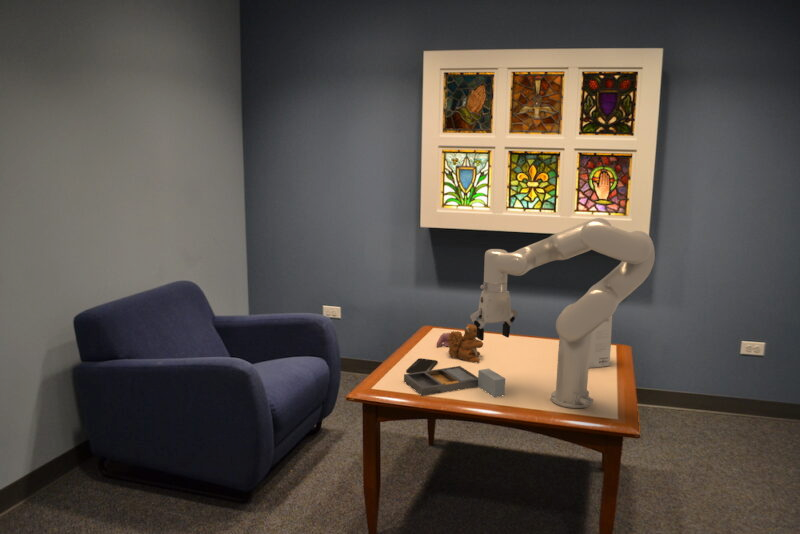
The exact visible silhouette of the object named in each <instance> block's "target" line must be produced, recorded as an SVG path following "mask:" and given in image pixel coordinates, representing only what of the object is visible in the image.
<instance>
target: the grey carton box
mask: <svg viewBox="0 0 800 534" xmlns="http://www.w3.org/2000/svg"><path fill="white" fill-rule="evenodd" d="M613 318H614V314H613V315H612V316H611V317H610V318H608V319H607V320H606V321H605V322H604V323H602V324H601V325H600V326H599V327H597V328H596V329H595V330H594V331H592V335H591V344H590V356H589V369H593V368H603V367H604V368H605V367H610V365H611V351H612V350H611V347H612V335H613V333H612V331H613Z"/></svg>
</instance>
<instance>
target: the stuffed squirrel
mask: <svg viewBox="0 0 800 534" xmlns="http://www.w3.org/2000/svg"><path fill="white" fill-rule="evenodd" d="M449 333H450V334H449V337H448V341H449V346H448V348H449V349H448V354H449V355H450V357H452V359H453V358H454V359H460V360H463V361H465V362H468V363H474V362H477V363H480V358H479V356H481V352H480V351H478V349H481V348H482V347H483V346H484V342H483V340H482V341H481V340H479V339H477V327H476V326H475V325H474V324H473V323H472V324H470V323H467V324H466V327H465V328H464V334H462V332H461V331H457V330H456V331H454V330H453V331H451V332H449ZM477 363H476V364H477Z"/></svg>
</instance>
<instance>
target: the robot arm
mask: <svg viewBox="0 0 800 534" xmlns="http://www.w3.org/2000/svg"><path fill="white" fill-rule="evenodd" d="M591 250H592V251H594V252H596V253H599V254H602V255H604V256H607V257H609V258H613V259H615V260H618V261H620V263H619V264H618V265H617V266H615V267H614V268H613V269H612V270H611V271H610V272H609V273H608V274H606V275H605V276H604V277H603V278H601V280H599V281H597V282H596V283H595V284H593V285H592V286H591V287H590V288H588V291H586V292H585V294H584V295H583V296H582V297H580V298H579V299H578V300H577V301H576V302H574V303H571V304H568V305H567V306H566V307H564V308H563V310H561V312H560V314H559V316H558V317H557V319H556V322H555V330H556V333H557V336H558V337H559V338H558V339H559V340H558V352H557V365H556V366H557V367H556V368H557V369H556V382H555V391H553V392H551V393H550V400H551V402H552V403H554V404H556V406H557V405H558V406H561V407H564V408H569V409H583V408H587V407H590V406H591V405H592V404H593V402H594V398H592V397H591V396H590V391H588V384H589V382H588V381H589V370H590V368H589V356H590V344H591V335H592V331H594V330H595V329H596V328H597V327H599V326H600V325H601V324H602V323H604V322H605V321H606V320H607V319H608V318H610V317H611V316H612V315H613V316H614V313H615V312H616V310H617V308H618V306H619V304H621V302H622V301H624V300H625V299H626V298H627V297H629V295H631V294H632V293H633V292H634V291H635V290H637V288H638V287H639V286H641V285H642V284H643V283H644V281H645V280H647V278H648V277H649V276H650V274H651V271H652V269H653V267H654V264H655V260H656V259H655V257H656V256H655V255H656V252H655V245H654V241H653V240H652V238H651V236H650V235H649V234H648V233H646V232H644V231H642V230H633V231H627V230H624V229H621V228H618V227H615V226H613V225H612V224H611V222H609V221H608V220H607V219H605V218H603V217H595V218H593V219H590V220H587V221H583V223H580V224H577V225H575V226H572V227H569V228H567V229H565V230H562V231H559V232H556V233H555V234H552V235H550V236H549V237H547V238H544V239H542V240H539V241H536V242H534V243H532V244H529V245H526V246H524V247H521V248H519V249H517V250H515V251H513V252H508V251H507V250H505V249H501V248H490V249H488V250H486V251H485V253H484V263H483V264H484V266H483V268H484V269H483V271H484V272H483V284H481V285H480V287H479V288H480V289H481V290H482V291H481V293H480V297H479V301H478V302H479V303H478V310H476V311H475V312H473V313H471V314H470V315H469V317H470V320H471V322H472V325H475V326H476V327H477V337H476V339H477V340H480V341H482V342H483V341H484V338H485V335H484V334H485V328H484V327H485V325H486V324H495V323H503V324H502V334H501V335H502V336H503V337H505V338H510V333H511V326H512V324H513V322H514V321H515V319H516V317H517V315H518V311H517V310H515V309H513V308H512V304H511V296H510V295H511V294H510V291H508V275H511V276H515V277H516V276H517V277H518V276H519V277H520V276H523V275H525V274H526V273H528V272H529V271H530V270H532V269H534V268H537V267H539V266H542V265H545V264H547V263H550V262H554V261H565V260H569V259H571V258H573V257H575V256H579V255H581V254H584V253H587V252H590V251H591ZM477 317H478V320H477Z"/></svg>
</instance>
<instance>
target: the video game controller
mask: <svg viewBox="0 0 800 534" xmlns="http://www.w3.org/2000/svg"><path fill="white" fill-rule="evenodd" d="M450 333H451V332H443V333H442V334H441V335H439V338H438V340H437V342H436V347H437V348H440V347H441V346H442V345H444V346H445V347H446V348H447V347H448V348H449V341H448V337H449V334H450Z"/></svg>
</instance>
